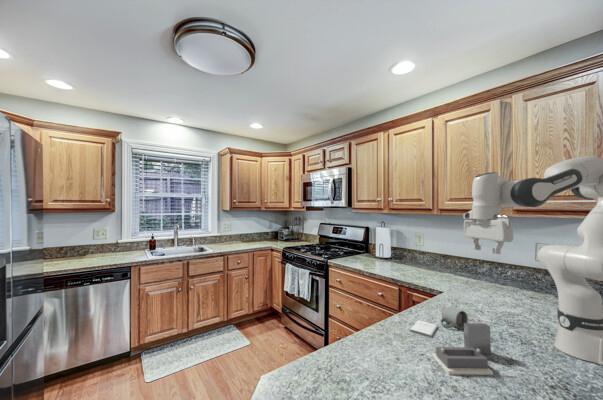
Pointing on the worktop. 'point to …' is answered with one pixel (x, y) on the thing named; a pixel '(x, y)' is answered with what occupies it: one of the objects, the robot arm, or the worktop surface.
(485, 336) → the block
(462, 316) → the ceramic mug
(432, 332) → the external hard drive
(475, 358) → the dock
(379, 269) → the worktop surface
